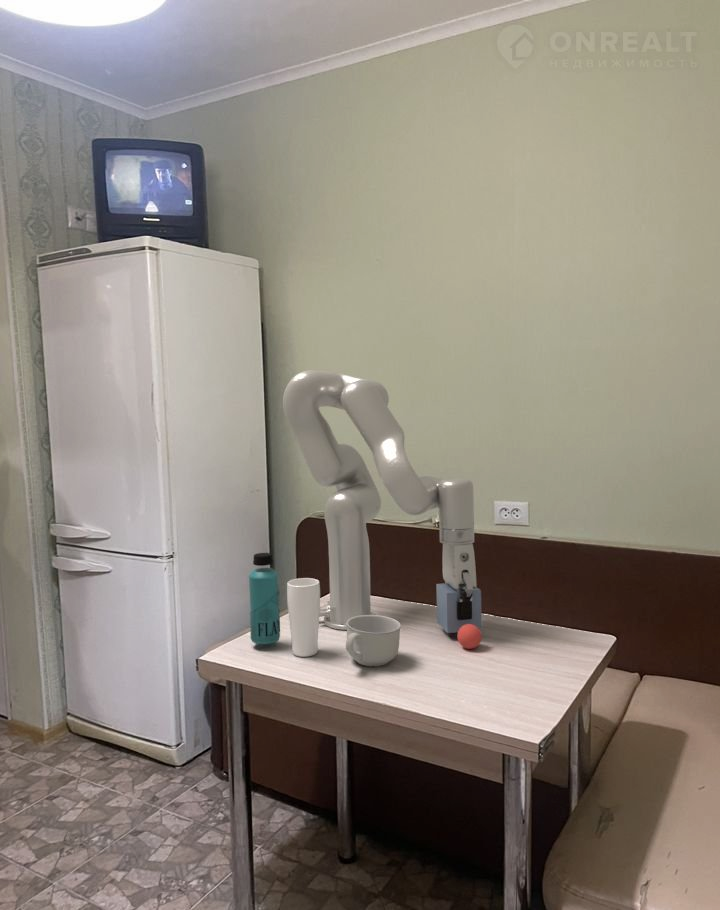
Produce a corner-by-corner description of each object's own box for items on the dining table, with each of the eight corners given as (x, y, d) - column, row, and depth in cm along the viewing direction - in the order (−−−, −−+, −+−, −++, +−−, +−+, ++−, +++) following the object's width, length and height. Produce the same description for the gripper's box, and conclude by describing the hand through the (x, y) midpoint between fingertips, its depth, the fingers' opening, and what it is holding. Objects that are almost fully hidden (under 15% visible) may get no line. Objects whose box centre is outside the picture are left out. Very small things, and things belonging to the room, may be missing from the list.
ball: (461, 653, 143) (461, 629, 143) (454, 644, 148) (454, 621, 148) (485, 651, 144) (484, 627, 143) (477, 643, 149) (477, 620, 148)
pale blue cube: (447, 633, 150) (446, 593, 150) (437, 622, 158) (436, 583, 157) (481, 630, 152) (480, 590, 151) (469, 619, 159) (469, 581, 158)
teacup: (373, 647, 147) (372, 610, 147) (412, 660, 140) (411, 621, 139) (324, 666, 138) (323, 626, 137) (362, 681, 130) (362, 639, 129)
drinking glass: (323, 647, 148) (322, 577, 147) (318, 659, 141) (316, 586, 140) (292, 647, 148) (290, 577, 147) (285, 658, 142) (283, 586, 141)
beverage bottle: (254, 653, 145) (251, 558, 144) (246, 643, 151) (243, 552, 150) (284, 648, 148) (282, 555, 146) (275, 638, 154) (273, 549, 152)
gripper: (487, 541, 145) (488, 624, 147) (460, 527, 162) (461, 601, 164) (452, 543, 144) (454, 627, 145) (429, 529, 161) (430, 604, 162)
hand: (458, 613), depth 154 cm, fingers closed on pale blue cube, 7 cm apart
